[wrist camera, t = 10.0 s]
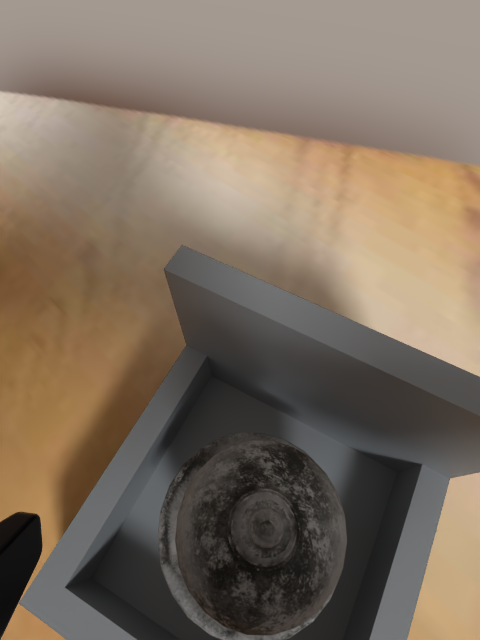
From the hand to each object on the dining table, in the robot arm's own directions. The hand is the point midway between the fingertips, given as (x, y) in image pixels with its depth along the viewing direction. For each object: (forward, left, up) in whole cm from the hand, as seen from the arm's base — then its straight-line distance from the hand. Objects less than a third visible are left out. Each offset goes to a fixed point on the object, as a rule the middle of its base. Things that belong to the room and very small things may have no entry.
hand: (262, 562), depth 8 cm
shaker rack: (+1, 0, -10) cm, 10 cm away
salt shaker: (0, 0, -9) cm, 9 cm away
